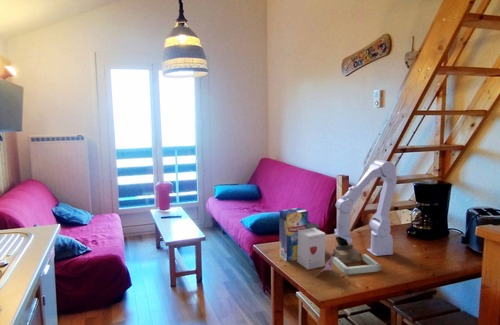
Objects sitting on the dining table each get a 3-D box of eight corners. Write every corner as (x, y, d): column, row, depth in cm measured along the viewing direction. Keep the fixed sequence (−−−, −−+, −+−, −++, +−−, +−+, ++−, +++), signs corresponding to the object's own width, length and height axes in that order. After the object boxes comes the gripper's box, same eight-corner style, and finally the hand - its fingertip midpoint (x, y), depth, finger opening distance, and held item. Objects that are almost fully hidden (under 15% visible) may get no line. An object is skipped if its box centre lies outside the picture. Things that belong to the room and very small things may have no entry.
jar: (309, 254, 172) (309, 229, 171) (297, 248, 179) (298, 225, 177) (323, 249, 177) (323, 226, 176) (311, 244, 184) (311, 221, 182)
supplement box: (307, 270, 155) (308, 236, 153) (296, 262, 163) (297, 229, 161) (325, 266, 159) (326, 233, 157) (313, 258, 167) (314, 227, 165)
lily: (334, 270, 157) (323, 250, 157) (353, 270, 147) (341, 248, 147) (316, 286, 150) (304, 266, 151) (334, 287, 140) (322, 264, 141)
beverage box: (307, 257, 169) (308, 211, 165) (286, 261, 164) (287, 214, 161) (299, 252, 175) (299, 207, 172) (279, 256, 170) (279, 210, 167)
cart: (354, 255, 170) (355, 244, 169) (362, 261, 163) (362, 249, 163) (332, 257, 168) (332, 246, 167) (338, 263, 161) (338, 251, 160)
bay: (365, 259, 166) (365, 254, 165) (380, 270, 154) (380, 265, 153) (332, 262, 163) (332, 257, 162) (345, 274, 150) (345, 268, 150)
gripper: (328, 220, 175) (328, 247, 177) (342, 230, 161) (341, 259, 163) (342, 219, 176) (341, 246, 178) (357, 228, 162) (356, 258, 164)
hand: (342, 252), depth 171 cm, fingers closed
